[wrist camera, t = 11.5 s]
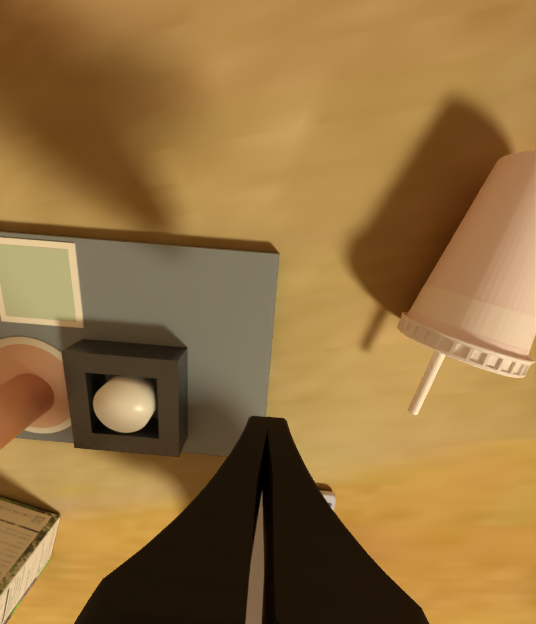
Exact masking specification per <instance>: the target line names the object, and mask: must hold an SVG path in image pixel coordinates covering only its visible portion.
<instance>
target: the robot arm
mask: <svg viewBox="0 0 536 624" xmlns="http://www.w3.org/2000/svg"><path fill="white" fill-rule="evenodd" d="M335 501H336V498H335V494H334V493H333V492H330V491H321V490H319V489H318V487H317V485H316V484H315V482H314V480H313V478H312V477H311V475H310V473H309V471H308V470H307V468H306V466H305V464H304V462H303V460H302V458H301V456H300V454H299V452H298V450H297V448H296V445H295V443H294V441H293V438H292V436H291V433H290V430H289V427H288V424H287V421H286V420H285V419H284V418H274V417H262V416H251V417H249V418H248V421H247V424H246V426H245V428H244V430H243V432H242V434H241V436H240V438H239V440H238V441H237V443H236V445H235V446H234V448H233V450H232V451H231V453H230V454H229V456H228V457H227V459H226V460H225V462H224V463H223V464H222V466H221V467H220V469H219V470H218V471H217V473H216V474H215V475H214V477H213V478H212V479H211V480H210V482H209V483H208V484H207V485H206V486H205V488H204V489H203V490H202V491H201V492H200V493H199V495H198V496H197V497H196V498H195V499H194V500H193V501H192V502H191V503H190V504H189V505H188V506H187V507H186V508H185V510H184V511H183V512H182V513H181V514H180V515H179V516H178V517H177V518H176V519H174V520H173V521H172V522H171V523H170V524H169V525H168V526H167V527H166V528H165V529H164V530H162V531H161V532H160V533H159V534H158V535H157V536H156V537H155V538H154V539H152V540H151V541H150V542H149V543H148V544H147V545H146V546H144V547H143V548H142V549H141V550H140V551H138V552H137V553H136V554H134V555H133V556H132V557H131V558H129V559H128V560H127V561H125V562H124V563H123V564H122V565H120V566H119V567H118V568H117V569H115V570H114V571H113V572H111V573H110V574H109V575H107V576H106V577H105V578H103V579H102V581H101V582H100V584H99V585H98V587H97V588H96V590H95V591H94V593H93V594H92V596H91V597H90V599H89V600H88V602H87V603H86V605H85V607H84V608H83V610H82V612H81V613H80V615H79V616H78V618H77V620H76V621H75V623H74V624H429V622H428V620H427V618H426V616H425V614H424V612H423V610H422V608H421V607H420V606H419V605H418V604H417V603H416V602H415V601H414V600H412V599H411V598H410V597H409V596H408V595H407V594H406V593H405V592H404V591H403V590H402V589H401V588H400V587H399V586H398V585H397V584H396V583H395V582H394V581H393V580H392V579H391V578H390V577H389V576H388V575H387V574H386V573H385V572H384V571H383V570H382V569H381V568H380V567H379V566H378V565H377V563H376V562H375V561H374V560H373V559H372V558H371V557H370V556H369V555H368V554H367V552H366V551H365V550H364V549H363V548H362V546H361V545H360V544H359V543H358V542H357V540H356V539H355V538H354V537H353V535H352V534H351V533H350V532H349V531H348V529H347V528H346V527H345V526H344V524H343V523H342V522H341V520H340V519H339V518H338V516H337V515H336V514H335V512H334V507H335Z"/></svg>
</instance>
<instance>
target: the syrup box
mask: <svg viewBox="0 0 536 624" xmlns="http://www.w3.org/2000/svg"><path fill="white" fill-rule="evenodd" d="M59 519H60V516H59V515H57V514H54V513H51V512H47V511H44V510H41V509H38V508H35V507H32V506H28V505H25V504H22V503H19V502H16V501H13V500H9V499H6V498H3V497H0V624H6V623H7V621H8V620H9V619H10V617H11V616H12V614H13V613H14V611H15V610H16V609H17V607H18V606H19V604H20V603H21V601H22V600H23V598H24V597H25V596H26V594H27V593H28V591H29V590H30V588H31V587H32V585H33V584H34V582H35V581H36V580H37V578H38V577H39V575H40V574H41V572H42V571H43V569H44V568H45V567H46V565H47V564H48V562H49V560H50V557H51V553H52V549H53V545H54V541H55V537H56V533H57V528H58V524H59Z"/></svg>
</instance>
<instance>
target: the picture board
mask: <svg viewBox="0 0 536 624" xmlns="http://www.w3.org/2000/svg"><path fill="white" fill-rule="evenodd" d="M278 264H279V253H271V252H259V251H246V250H234V249H221V248H209V247H196V246H183V245H171V244H158V243H146V242H133V241H120V240H108V239H95V238H83V237H70V236H58V235H45V234H32V233H20V232H7V231H0V385H2V384H3V383H5V382H7V381H8V380H10V379H12V378H14V377H15V376H17V375H20V374H33V375H36V376H38V377H40V378H42V379H43V380H45V381H46V382H47V383H48V384H49V385H50V387H51V388H52V390H53V393H54V404H53V406H52V407H51V409H50V410H48V411H47V412H46V413H45V414H43V415H42V416H41V417H40V418H38V419H37V420H36V421H35V422H34V423H32V424H31V425H30V426H29V427H27V428H26V429H25V430H24V431H22V432H21V433H20V434H19V435H17V436H16V437H15V438H22V439H33V440H45V441H56V442H67V443H74V440H73V433H72V426H71V419H70V411H69V404H68V397H67V389H66V382H65V375H64V367H63V360H62V353H61V351H62V350H64V349H66V348H68V347H69V346H71V345H73V344H74V343H76V342H78V341H80V340H81V339H92V340H104V341H116V342H128V343H140V344H152V345H164V346H176V347H188V437H187V440H186V442H185V444H184V447H183V449H182V451H181V452H182V453H193V454H205V455H216V456H229V454H230V453H231V451H232V450H233V448H234V446H235V445H236V443H237V441H238V440H239V438H240V436H241V434H242V432H243V430H244V428H245V426H246V424H247V421H248V418H249V417H251V416H262V417H266V406H267V394H268V382H269V370H270V359H271V347H272V335H273V323H274V311H275V300H276V288H277V276H278ZM113 376H114V375H108V374H105V378H106V383H107V382H108V381H109V380H110V379H111V378H112V377H113ZM154 379H155V380H156V382H157V379H156V378H154ZM151 418H158V407H157V409H156V410H155V412H154V413H153V415H152V416H151Z"/></svg>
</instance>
